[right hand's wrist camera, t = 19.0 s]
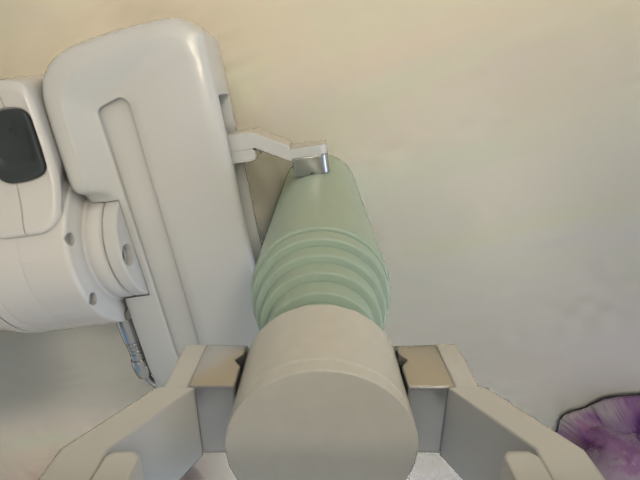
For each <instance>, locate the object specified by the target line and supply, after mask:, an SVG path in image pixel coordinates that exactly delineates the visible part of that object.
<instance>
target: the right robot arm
mask: <svg viewBox="0 0 640 480" xmlns="http://www.w3.org/2000/svg"><path fill="white" fill-rule="evenodd" d="M248 350H249V348H248V346H246V345H187V346H185V347H184V349H183V351H182V353H181V355H180V357H179V359H178V361H177V363H176V364H175V366H174V368H173V370H172V372H171V374H170V376H169V378H168V380H167V382H166V384H165V386H164V387H157V388H156V389H154V390H153V391H151V392H149V393H148V394H146V395H145V396H143V397H142V398H140V399H138V400H137V401H135V402H134V403H132V404H131V405H129V406H127V407H126V408H124V409H123V410H121V411H120V412H118V413H117V414H115V415H113V416H112V417H110V418H109V419H107V420H106V421H104V422H102V423H101V424H99V425H98V426H96V427H95V428H93V429H91V430H90V431H88V432H87V433H85V434H84V435H82V436H80V437H79V438H77V439H76V440H74V441H73V442H71V443H69V444H68V445H66V446H65V447H63V448H62V449H60V450H59V452H58V453H57V455H56V456H55V457H54V459H53V460H52V462H51V463H50V464H49V466H48V467H47V469H46V470H45V471H44V473H43V474H42V476H41V477H40V478H39V480H180V479H181V478H182V477H183V476H184V475H185V473H186V472H187V471H188V470H189V469H190V468H191V467H192V466H193V465H194V464H195V463H196V462H197V461H198V460H199V458H200V457H201V456H202V455H203V453H209V452H226V448H225V436H226V431H227V426H228V423H229V419H230V416H231V412H232V408H233V404H234V401H235V397H236V393H237V389H238V386H239V382H240V378H241V375H242V371H243V367H244V364H245V360H246V356H247V353H248ZM394 350H395V354H396V357H397V361H398V365H399V368H400V372H401V375H402V379H403V382H404V386H405V390H406V393H407V397H408V400H409V404H410V407H411V411H412V414H413V418H414V422H415V425H416V429H417V433H418V452H433V453H440V455H441V456H442V457H443V459H444V460H445V461H446V462H447V463H448V464H449V465H450V466H451V467H452V468H453V469H454V470H455V471H456V472H457V473H458V475H459V476H460V477H461V478H462V479H463V480H605V479H604V477H603V476H602V474H601V473H600V472H599V470H598V469H597V467H596V466H595V465H594V463H593V462H592V461H591V459H590V458H589V456H588V455H587V454H586V452H585V451H584V450H583V449H581V448H580V447H578V446H577V445H575V444H574V443H572V442H570V441H569V440H567V439H566V438H564V437H563V436H561V435H559V434H558V433H556V432H555V431H553V430H552V429H550V428H548V427H547V426H545V425H544V424H542V423H541V422H539V421H537V420H536V419H534V418H533V417H531V416H530V415H528V414H526V413H525V412H523V411H522V410H520V409H519V408H517V407H515V406H514V405H512V404H511V403H509V402H508V401H506V400H504V399H503V398H501V397H500V396H498V395H497V394H495V393H493V392H492V391H490V390H489V389H487V388H486V387H479V386H478V384H477V382H476V380H475V379H474V377H473V375H472V373H471V371H470V369H469V367H468V366H467V364H466V362H465V360H464V358H463V356H462V354H461V353H460V351H459V349H458V347H457V346H456V345H454V344H450V345H431V346H394Z"/></svg>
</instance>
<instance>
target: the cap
mask: <svg viewBox="0 0 640 480" xmlns="http://www.w3.org/2000/svg"><path fill="white" fill-rule="evenodd" d="M225 448H226V456H227V459H228V462H229V465H230V467H231V469H232V471H233V473H234V475H235V477H236V478H237V479H238V480H406V479H407V477H408V475H409V474H410V472H411V470H412V468H413V466H414V463H415V460H416V456H417V452H418V433H417V429H416V425H415V422H414V418H413V414H412V411H411V407H410V404H409V400H408V397H407V393H406V390H405V386H404V382H403V379H402V375H401V372H400V368H399V365H398V361H397V357H396V354H395V350H394V348H393V346H392V344H391V342H390V340H389V338H388V337H387V335H386V334H385V333H384V332H383V331H382V329H381V328H380V327H379V326H378V325H377V324H375V323H374V322H373V321H371V320H370V319H368V318H367V317H365V316H364V315H362V314H360V313H358V312H356V311H354V310H350V309H347V308H344V307H339V306H335V305H307V306H302V307H299V308H296V309H293V310H290V311H288V312H285V313H282V314H280V315H279V316H278V317H276V318H274V319H273V320H272V321H270V322H269V323H268V324H266V325H265V326H264V327H263V328H262V329H261V330H260V331H259V333H258V334H257V335H256V336H255V338H254V340H253V341H252V343H251V345H250V347H249V350H248V353H247V356H246V360H245V364H244V367H243V371H242V375H241V378H240V382H239V386H238V389H237V393H236V397H235V401H234V404H233V408H232V412H231V416H230V419H229V423H228V426H227V431H226V436H225Z"/></svg>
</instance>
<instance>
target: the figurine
mask: <svg viewBox="0 0 640 480" xmlns="http://www.w3.org/2000/svg"><path fill="white" fill-rule="evenodd" d="M558 428H559V429H558V432H557V433H558V434H559V435H561V436H563V437H564V438H566V439H567V440H569V441H570V442H572V443H574V444H575V445H577V446H578V447H580V448H581V449H583V450H584V451H585V452H586V454H587V455H588V456H589V458H590V459H591V461H592V462H593V463H594V465H595V466H596V467H597V469H598V470H599V472H600V473H601V474H602V476H603V477H604V479H605V480H640V395H634V396H619V397H613V398H608V399H605V398H604V399H603V400H601V401H599V402H596V403H594V404H592V405H590V406H588V407H587V408H584V409H581V410H577V411H573V412H571V413H569V414H566V415H564V416H563V418H562V419H561V420H560V422H559V427H558Z"/></svg>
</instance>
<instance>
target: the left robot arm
mask: <svg viewBox="0 0 640 480" xmlns="http://www.w3.org/2000/svg"><path fill="white" fill-rule="evenodd" d="M262 151H264V152H266V153H269V154H272V155H274V156H277V157H280V158H282V159H285V160H288V161H290V162H292V161H293V166H294V172H295V177H296V178H297V177H304V176H309V175H310V174H311V173H312V172H313V173H315V174H324V173H327V172H330V167H329V158H328V150H327V144H326V140H318V141H311V142H304V143H297V144H292V142H291V141H289V140H286V139H284V138H281V137H279V136H276V135H274V134H271V133H269V132H267V131H264V130H262V129H259V128H253V129H247V130H240V131H237V128H236V123H235V118H234V113H233V109H232V104H231V99H230V94H229V90H228V85H227V80H226V75H225V71H224V66H223V61H222V56H221V52H220V47H219V43H218V41H217V39H216V38H215V36H214V35H212V34H211V33H210V32H208V31H207V30H206V29H204V28H203V27H201V26H200V25H198V24H197V23H195V22H193V21H191V20H188V19H184V18H166V19H160V20H154V21H150V22H146V23H141V24H137V25H133V26H130V27H126V28H122V29H119V30H115V31H112V32H109V33H106V34H103V35H100V36H97V37H94V38H91V39H89V40H86V41H83V42H81V43H78V44H76V45H74V46H72V47H69V48H68V49H66V50H64V51H63V52H61V53H60V54H59V55H57V56H56V57H55V58H54V59H53V60H52V62H51V63H50V64H49V66H48V67H47V69H46V71H45V74H44V75H29V76H20V77H13V78H7V79H2V80H0V330H8V331H14V332H20V333H39V332H47V331H55V330H62V329H70V328H77V327H86V326H94V325H101V324H109V323H116V324H117V327H118V329H119V332H120V335H121V337H122V340H123V342H124V344H125V345H126V347H127V349H128V351H129V354H130V357H131V364H132V367H133V370H134V372H135V373H136V375H137V376H138V377H139V378H140V379H144V378H145V380H146V381H147V382H148V383H149V384H150V385H151V386H153V387H154V388H157V387H164V386H165V384H166V382H167V380H168V378H169V376H170V374H171V372H172V370H173V368H174V366H175V364H176V363H177V361H178V359H179V357H180V355H181V353H182V351H183V349H184V347H185V346H187V345H246V346H248V348H249V347H250V345H251V343H252V341H253V340H254V338H255V336H256V335H257V334H258V333H259V328H258V325H257V322H256V319H255V317H254V313H253V309H252V303H251V282H252V276H253V272H254V269H255V266H256V263H257V260H258V257H259V254H260V251H261V249H262V246H261V241H260V236H259V232H258V227H257V222H256V218H255V213H254V208H253V203H252V199H251V194H250V189H249V184H248V180H247V175H246V170H245V165H244V162H250V161H255V160H256V158H257V157H258V156H259V155H260V154H261V152H262ZM151 375H152V376H153V377H152V376H151Z"/></svg>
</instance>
